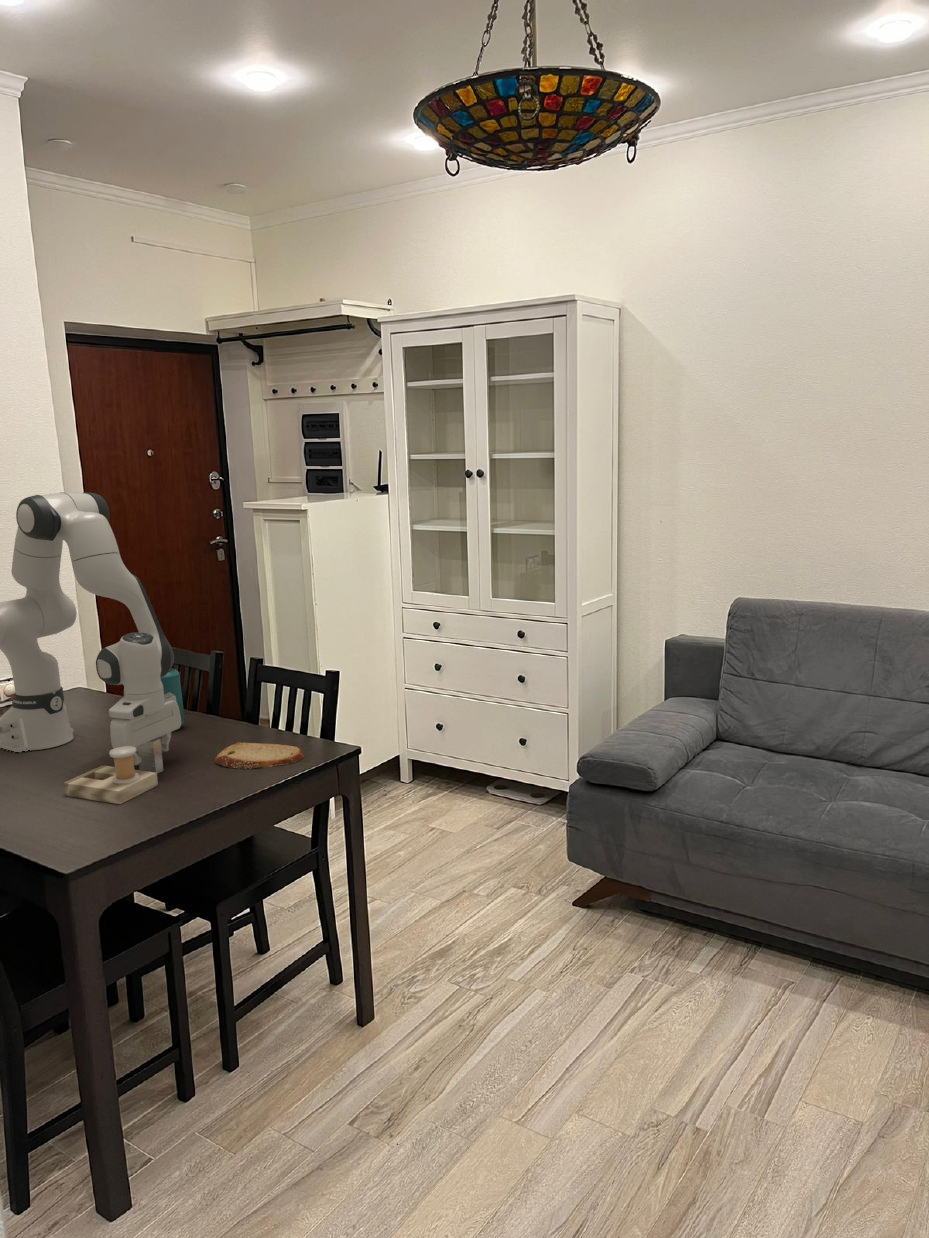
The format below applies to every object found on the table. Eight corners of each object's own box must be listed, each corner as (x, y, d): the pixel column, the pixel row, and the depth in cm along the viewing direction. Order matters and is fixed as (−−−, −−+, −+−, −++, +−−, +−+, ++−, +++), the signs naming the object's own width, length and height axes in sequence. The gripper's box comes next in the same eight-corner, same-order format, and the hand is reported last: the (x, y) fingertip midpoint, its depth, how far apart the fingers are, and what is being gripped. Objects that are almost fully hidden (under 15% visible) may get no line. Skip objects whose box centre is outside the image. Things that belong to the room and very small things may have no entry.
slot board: (64, 795, 212) (63, 782, 211) (104, 777, 223) (102, 765, 222) (120, 804, 206) (118, 791, 205) (157, 785, 216) (156, 772, 216)
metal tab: (139, 771, 226) (136, 739, 224) (147, 768, 228) (143, 736, 226) (156, 774, 224) (152, 741, 222) (163, 770, 226) (160, 738, 224)
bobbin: (107, 782, 210) (103, 752, 209) (125, 774, 215) (122, 745, 214) (126, 785, 208) (123, 755, 207) (144, 777, 213) (141, 747, 212)
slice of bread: (310, 759, 231) (309, 744, 231) (245, 779, 219) (244, 763, 219) (270, 744, 244) (269, 730, 244) (207, 761, 232) (206, 747, 231)
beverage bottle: (190, 727, 260) (184, 656, 256) (171, 733, 254) (164, 661, 251) (174, 723, 263) (167, 654, 260) (155, 730, 258) (148, 659, 254)
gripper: (164, 689, 233) (169, 743, 236) (103, 712, 215) (109, 770, 217) (184, 691, 231) (189, 745, 233) (124, 714, 212) (131, 773, 215)
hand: (150, 757), depth 225 cm, fingers open, 8 cm apart
